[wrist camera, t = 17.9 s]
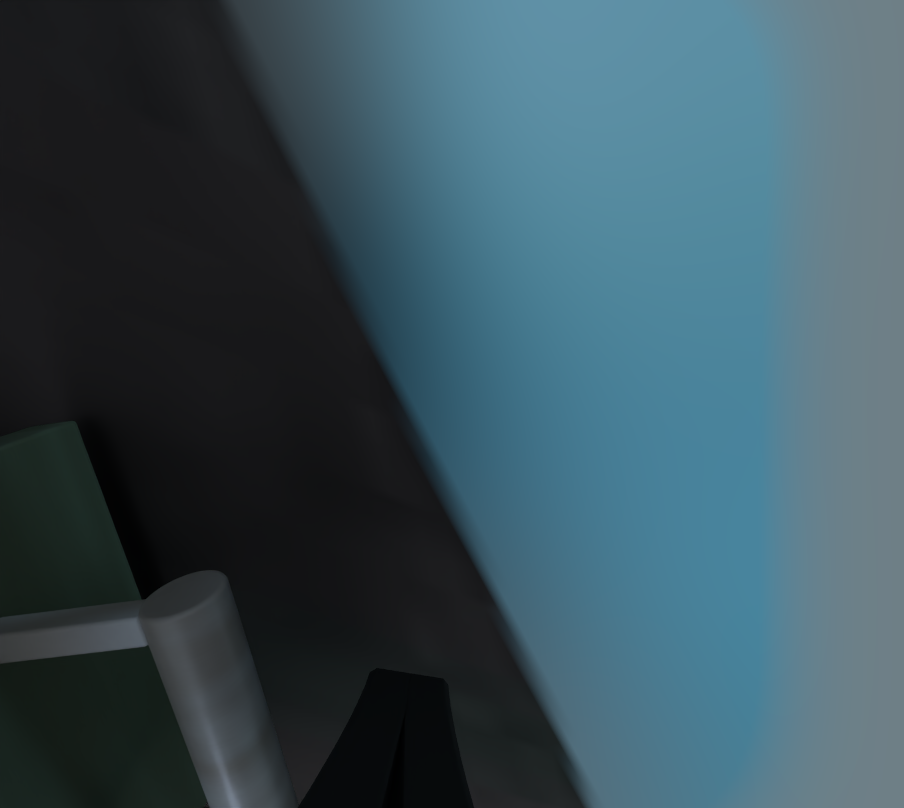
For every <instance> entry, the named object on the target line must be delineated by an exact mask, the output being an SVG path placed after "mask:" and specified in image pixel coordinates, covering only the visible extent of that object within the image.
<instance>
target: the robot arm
mask: <svg viewBox="0 0 904 808" xmlns="http://www.w3.org/2000/svg"><path fill="white" fill-rule="evenodd" d="M298 808H474V806H473V802H472V799H471V795H470V792H469V788H468V784H467V781H466V777H465V773H464V769H463V765H462V761H461V757H460V752H459V748H458V743H457V738H456V734H455V729H454V724H453V718H452V712H451V706H450V698H449V688H448V684H447V683H446V681H445V680H444V679H442V678H436V677H429V676H423V675H417V674H410V673H404V672H398V671H392V670H385V669H379V668H376V669H375V670H373V671H371V672H370V673H369V676H368V679H367V682H366V685H365V687H364V689H363V692H362V694H361V696H360V699H359V701H358V703H357V705H356V707H355V709H354V711H353V713H352V715H351V717H350V719H349V721H348V723H347V725H346V727H345V729H344V731H343V732H342V734H341V736H340V738H339V740H338V742H337V743H336V745H335V747H334V749H333V750H332V752H331V754H330V755H329V757H328V759H327V761H326V762H325V764H324V766H323V767H322V769H321V771H320V772H319V774H318V776H317V778H316V779H315V781H314V783H313V784H312V786H311V788H310V789H309V791H308V792H307V794H306V796H305V797H304V799H303V800H302V802H301V803H300V805H299V806H298Z"/></svg>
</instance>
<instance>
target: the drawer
mask: <svg viewBox="0 0 904 808" xmlns="http://www.w3.org/2000/svg"><path fill="white" fill-rule="evenodd" d="M206 802H208V804H209V807H204V806H205V804H206ZM298 806H299V804H298V800H297V797H296V794H295V791H294V788H293V785H292V781H291V778H290V775H289V772H288V769H287V765H286V762H285V759H284V756H283V753H282V750H281V746H280V743H279V740H278V737H277V734H276V730H275V727H274V724H273V721H272V718H271V715H270V711H269V708H268V705H267V702H266V699H265V695H264V692H263V689H262V686H261V683H260V680H259V676H258V673H257V670H256V667H255V664H254V661H253V657H252V654H251V651H250V648H249V645H248V641H247V638H246V635H245V632H244V629H243V626H242V622H241V619H240V616H239V613H238V610H237V606H236V603H235V600H234V597H233V594H232V591H231V587H230V584H229V581H228V578H227V576H226V575H225V574H223V573H222V572H220V571H217V570H204V571H199V572H194V573H191V574H188V575H185V576H182V577H180V578H177V579H175V580H173V581H171V582H169V583H167V584H165V585H164V586H162V587H161V588H159V589H158V590H156V591H155V592H153V593H152V594H151V595H150V596H149V597H148V598H147V599H143V600H142V598H141V596H140V593H139V590H138V588H137V585H136V582H135V580H134V577H133V574H132V571H131V569H130V566H129V563H128V561H127V558H126V555H125V553H124V550H123V547H122V544H121V542H120V539H119V536H118V534H117V531H116V528H115V526H114V523H113V520H112V517H111V515H110V512H109V509H108V507H107V504H106V501H105V499H104V496H103V493H102V490H101V488H100V485H99V482H98V480H97V477H96V474H95V472H94V469H93V466H92V463H91V461H90V458H89V455H88V453H87V450H86V447H85V445H84V442H83V439H82V437H81V434H80V431H79V428H78V426H77V423H76V422H75V421H66V422H59V423H52V424H46V425H39V426H33V427H28V428H25V429H22V430H19V431H16V432H13V433H10V434H7V435H4V436H1V437H0V808H298Z"/></svg>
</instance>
